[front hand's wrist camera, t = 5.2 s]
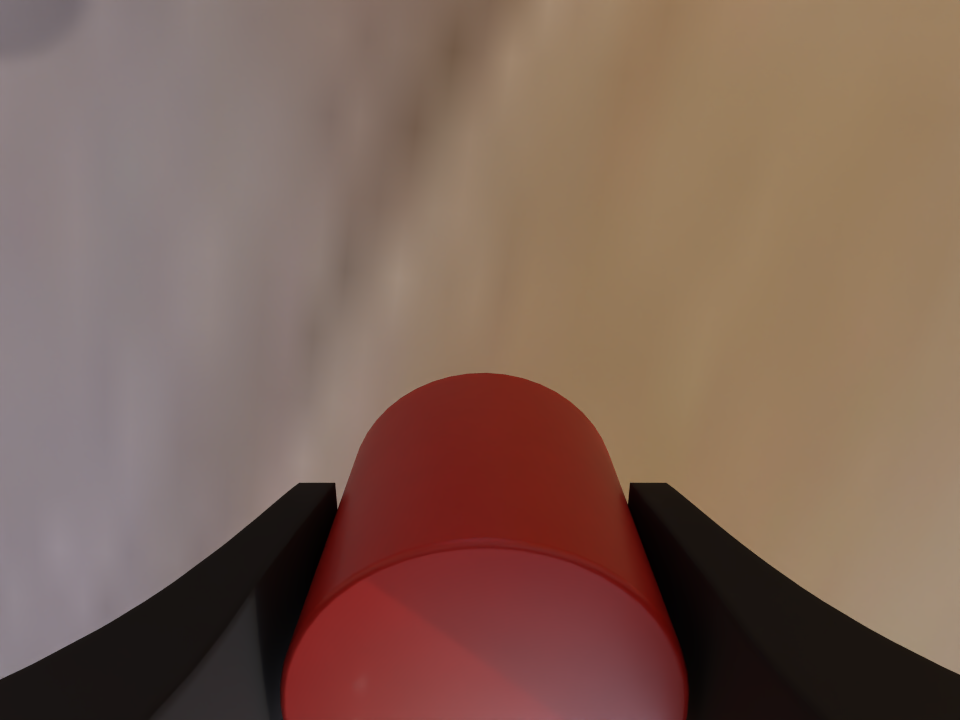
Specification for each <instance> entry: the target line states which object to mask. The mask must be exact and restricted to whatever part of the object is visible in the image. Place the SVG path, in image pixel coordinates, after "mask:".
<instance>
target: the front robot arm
mask: <svg viewBox="0 0 960 720" xmlns="http://www.w3.org/2000/svg"><path fill="white" fill-rule="evenodd" d="M628 507H629V509H630V512H631V515H632V517H633V520H634V523H635V525H636V528H637V531H638V533H639V536H640V539H641V541H642V544H643V547H644V549H645V552H646V555H647V558H648V560H649V563H650V566H651V568H652V571H653V574H654V576H655V579H656V582H657V584H658V587H659V590H660V592H661V595H662V598H663V600H664V603H665V606H666V608H667V611H668V614H669V616H670V619H671V622H672V624H673V627H674V630H675V632H676V635H677V638H678V640H679V643H680V646H681V648H682V651H683V655H684V659H685V663H686V667H687V670H688V681H689V702H688V713H687V718H686V720H960V675H959V674H957V673H955V672H953V671H950V670H948V669H946V668H944V667H942V666H940V665H938V664H936V663H934V662H932V661H930V660H928V659H926V658H924V657H922V656H920V655H918V654H916V653H914V652H912V651H910V650H908V649H906V648H904V647H903V646H901V645H899V644H897V643H895V642H893V641H891V640H889V639H887V638H885V637H883V636H882V635H880V634H878V633H876V632H874V631H873V630H871V629H869V628H867V627H865V626H864V625H862V624H860V623H859V622H857V621H855V620H854V619H852V618H850V617H849V616H847V615H845V614H844V613H842V612H840V611H839V610H837V609H835V608H834V607H832V606H830V605H829V604H827V603H825V602H823V601H822V600H820V599H819V598H817V597H816V596H814V595H813V594H811V593H810V592H808V591H806V590H805V589H803V588H802V587H800V586H799V585H798V584H796V583H795V582H793V581H792V580H790V579H789V578H788V577H786V576H785V575H783V574H782V573H780V572H779V571H778V570H776V569H775V568H773V567H772V566H770V565H769V564H768V563H766V562H765V561H764V560H762V559H761V558H760V557H758V556H757V555H756V554H754V553H753V552H752V551H750V550H749V549H748V548H746V547H745V546H744V545H743V544H741V543H740V542H739V541H737V540H736V539H735V538H734V537H732V536H731V535H730V534H729V533H727V532H726V531H725V530H724V529H722V528H721V527H720V526H719V525H718V524H716V523H715V522H714V521H713V520H711V519H710V518H709V517H708V516H707V515H705V514H704V513H703V512H702V511H701V510H699V509H698V508H697V507H696V506H695V505H693V504H692V503H691V502H690V501H689V500H687V499H686V498H685V497H684V496H683V495H681V494H680V493H679V492H678V491H676V490H675V489H674V488H672V487H671V486H670V485H668V484H667V483H630V489H629V500H628ZM336 513H337V499H336V488H335V483H298V484H297V485H296V486H294V487H293V488H292V489H291V490H289V491H288V492H287V493H286V494H285V495H283V496H282V497H281V498H280V499H279V500H277V501H276V502H275V503H274V504H273V505H272V506H270V507H269V508H268V509H267V510H266V511H264V512H263V513H262V514H261V515H260V516H259V517H257V518H256V519H255V520H254V521H253V522H251V523H250V524H249V525H248V526H246V527H245V528H244V529H243V530H242V531H240V532H239V533H238V534H237V535H235V536H234V537H233V538H232V539H231V540H229V541H228V542H227V543H226V544H224V545H223V546H222V547H221V548H219V549H218V550H217V551H215V552H214V553H212V554H211V555H210V556H208V557H207V558H206V559H204V560H203V561H202V562H200V563H199V564H198V565H196V566H195V567H194V568H192V569H191V570H190V571H188V572H187V573H185V574H184V575H183V576H181V577H180V578H179V579H177V580H176V581H175V582H173V583H172V584H170V585H169V586H167V587H166V588H164V589H163V590H162V591H160V592H158V593H157V594H155V595H154V596H152V597H151V598H149V599H148V600H146V601H145V602H143V603H141V604H140V605H138V606H137V607H135V608H133V609H132V610H130V611H128V612H127V613H125V614H124V615H122V616H120V617H119V618H117V619H115V620H114V621H112V622H110V623H109V624H107V625H105V626H103V627H102V628H100V629H98V630H96V631H94V632H93V633H91V634H89V635H87V636H85V637H83V638H81V639H79V640H77V641H76V642H74V643H72V644H70V645H68V646H66V647H64V648H62V649H60V650H59V651H57V652H55V653H53V654H51V655H49V656H47V657H45V658H44V659H42V660H40V661H38V662H36V663H34V664H32V665H30V666H28V667H26V668H24V669H22V670H20V671H17V672H15V673H13V674H11V675H9V676H7V677H5V678H3V679H0V720H283V716H282V711H281V705H280V681H281V674H282V668H283V663H284V660H285V657H286V654H287V651H288V648H289V645H290V642H291V639H292V636H293V633H294V631H295V628H296V625H297V622H298V619H299V617H300V614H301V611H302V608H303V605H304V603H305V600H306V597H307V594H308V591H309V589H310V586H311V583H312V580H313V577H314V575H315V572H316V569H317V566H318V563H319V561H320V558H321V555H322V552H323V549H324V547H325V544H326V541H327V538H328V535H329V532H330V530H331V527H332V524H333V521H334V518H335V516H336Z"/></svg>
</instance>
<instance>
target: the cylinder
mask: <svg viewBox="0 0 960 720" xmlns="http://www.w3.org/2000/svg"><path fill="white" fill-rule="evenodd" d="M688 702H689V681H688V670H687V667H686V663H685V659H684V655H683V651H682V648H681V646H680V643H679V640H678V638H677V635H676V632H675V630H674V627H673V624H672V622H671V619H670V616H669V614H668V611H667V608H666V606H665V603H664V600H663V598H662V595H661V592H660V590H659V587H658V584H657V582H656V579H655V576H654V574H653V571H652V568H651V566H650V563H649V560H648V558H647V555H646V552H645V549H644V547H643V544H642V541H641V539H640V536H639V533H638V531H637V528H636V525H635V523H634V520H633V517H632V515H631V512H630V509H629V507H628V504H627V501H626V499H625V496H624V493H623V491H622V488H621V485H620V483H619V480H618V477H617V475H616V472H615V469H614V467H613V464H612V461H611V459H610V456H609V453H608V451H607V449H606V446H605V444H604V442H603V440H602V438H601V436H600V435H599V433H598V432H597V430H596V428H595V427H594V425H593V424H592V423H591V422H590V421H589V419H588V418H587V417H586V416H585V415H584V414H583V412H581V411H580V410H579V409H578V408H577V407H576V406H575V405H573V404H572V403H571V402H570V401H569V400H567V399H566V398H564V397H563V396H561V395H560V394H558V393H557V392H555V391H553V390H551V389H549V388H547V387H545V386H543V385H541V384H538V383H535V382H532V381H529V380H526V379H523V378H519V377H514V376H509V375H504V374H492V373H474V374H463V375H457V376H451V377H447V378H444V379H440V380H437V381H433V382H431V383H429V384H426V385H424V386H422V387H419V388H417V389H415V390H414V391H412V392H410V393H409V394H407V395H405V396H403V397H402V398H400V399H399V400H398V401H397V402H395V403H394V404H393V405H392V406H390V407H389V408H388V409H387V410H386V411H385V412H384V413H383V414H382V415H381V416H380V417H379V418H378V419H377V420H376V422H375V423H374V425H373V426H372V427H371V429H370V430H369V431H368V433H367V435H366V436H365V438H364V440H363V442H362V444H361V446H360V448H359V451H358V454H357V457H356V460H355V462H354V465H353V468H352V471H351V474H350V476H349V479H348V482H347V485H346V488H345V490H344V493H343V496H342V499H341V502H340V504H339V507H338V510H337V513H336V516H335V518H334V521H333V524H332V527H331V530H330V532H329V535H328V538H327V541H326V544H325V547H324V549H323V552H322V555H321V558H320V561H319V563H318V566H317V569H316V572H315V575H314V577H313V580H312V583H311V586H310V589H309V591H308V594H307V597H306V600H305V603H304V605H303V608H302V611H301V614H300V617H299V619H298V622H297V625H296V628H295V631H294V633H293V636H292V639H291V642H290V645H289V648H288V651H287V654H286V657H285V660H284V663H283V668H282V674H281V681H280V705H281V711H282V716H283V720H686V718H687V713H688Z"/></svg>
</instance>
